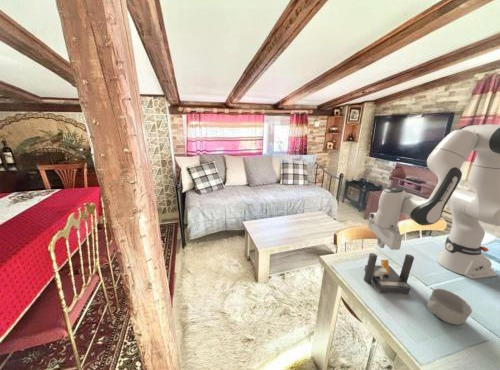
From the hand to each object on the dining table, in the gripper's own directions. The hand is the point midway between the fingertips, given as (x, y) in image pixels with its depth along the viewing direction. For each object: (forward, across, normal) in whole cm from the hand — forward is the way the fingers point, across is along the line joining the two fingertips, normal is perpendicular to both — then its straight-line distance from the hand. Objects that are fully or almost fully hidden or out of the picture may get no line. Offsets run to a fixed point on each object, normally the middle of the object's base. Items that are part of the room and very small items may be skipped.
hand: (380, 246), depth 98 cm
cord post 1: (+13, -8, +8) cm, 18 cm away
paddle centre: (+10, -8, 0) cm, 13 cm away
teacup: (+13, -26, -11) cm, 31 cm away
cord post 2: (+13, -8, -8) cm, 18 cm away
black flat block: (+13, -8, 0) cm, 16 cm away
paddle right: (+10, -8, +4) cm, 14 cm away
